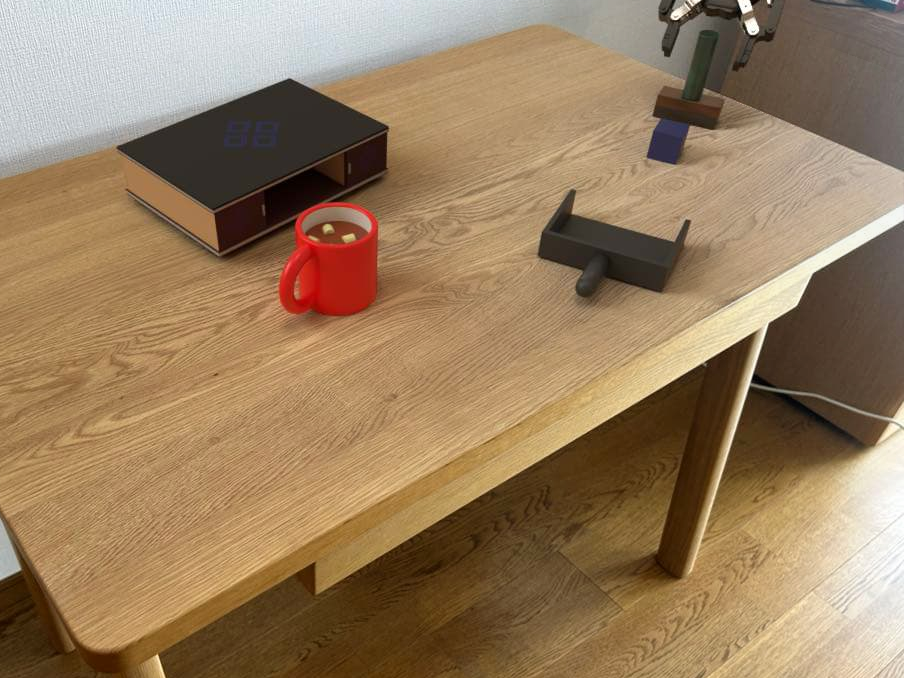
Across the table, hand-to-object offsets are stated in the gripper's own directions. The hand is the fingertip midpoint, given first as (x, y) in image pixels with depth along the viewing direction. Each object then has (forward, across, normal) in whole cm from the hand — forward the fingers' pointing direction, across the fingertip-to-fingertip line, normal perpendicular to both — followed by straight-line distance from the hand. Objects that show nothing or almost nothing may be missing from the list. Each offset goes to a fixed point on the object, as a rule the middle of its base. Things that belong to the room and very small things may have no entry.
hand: (700, 61), depth 108 cm
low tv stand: (+35, -39, -23) cm, 57 cm away
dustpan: (+32, 0, -20) cm, 38 cm away
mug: (+45, -22, -34) cm, 61 cm away
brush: (+5, 0, +6) cm, 8 cm away
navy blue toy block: (+13, 0, -2) cm, 13 cm away
